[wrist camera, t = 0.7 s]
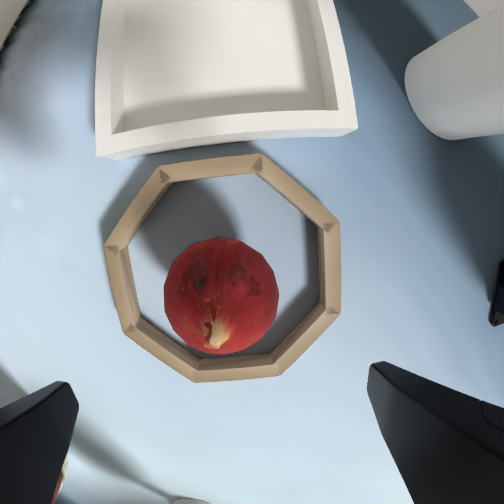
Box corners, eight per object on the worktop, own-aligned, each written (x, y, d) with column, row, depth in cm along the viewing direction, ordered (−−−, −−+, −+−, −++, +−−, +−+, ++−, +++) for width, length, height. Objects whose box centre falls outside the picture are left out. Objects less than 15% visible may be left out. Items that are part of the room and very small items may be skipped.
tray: (308, -28, 14) (316, -50, 11) (340, 136, 17) (358, 128, 14) (121, -8, 14) (108, -28, 11) (117, 160, 17) (96, 156, 14)
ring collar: (326, 152, 17) (334, 149, 16) (332, 355, 20) (338, 366, 19) (104, 178, 17) (94, 178, 15) (144, 371, 20) (138, 383, 18)
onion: (166, 244, 18) (117, 285, 10) (255, 216, 18) (268, 239, 10) (196, 326, 19) (175, 404, 11) (280, 303, 19) (305, 375, 11)
